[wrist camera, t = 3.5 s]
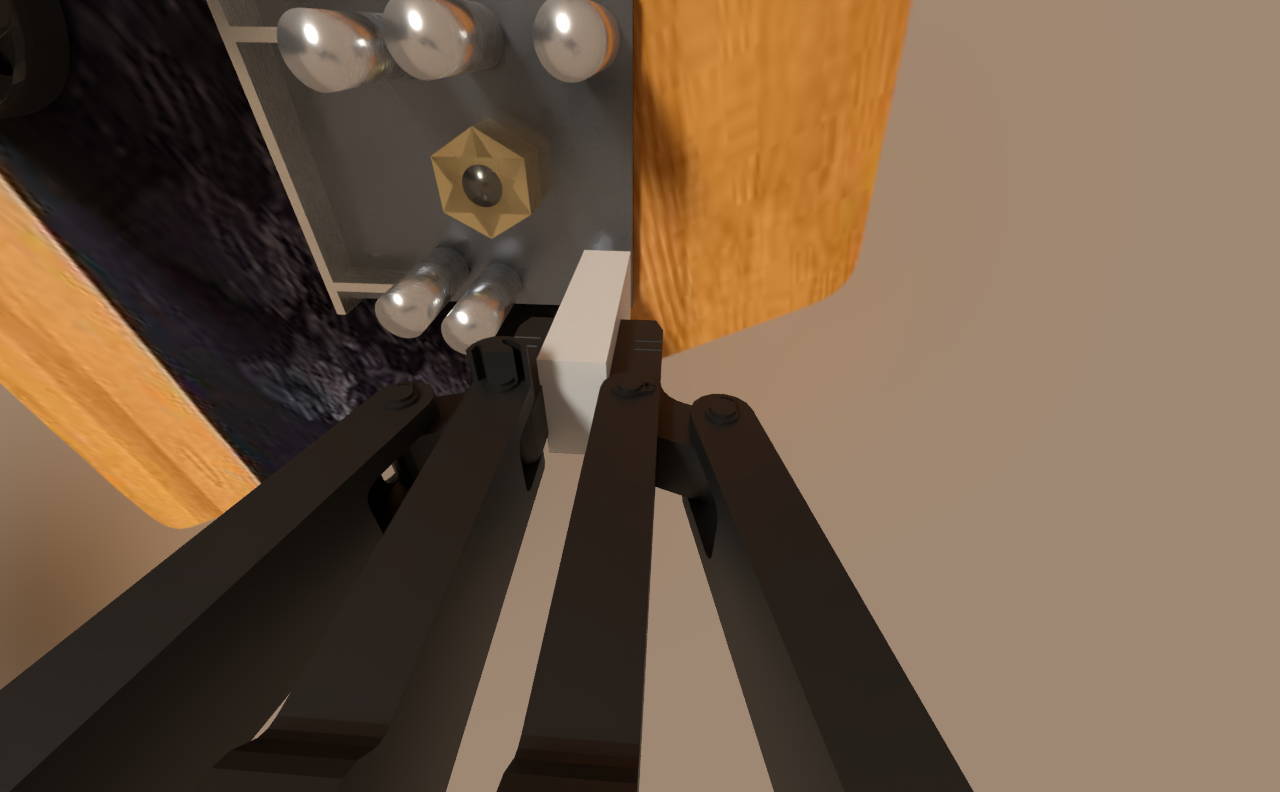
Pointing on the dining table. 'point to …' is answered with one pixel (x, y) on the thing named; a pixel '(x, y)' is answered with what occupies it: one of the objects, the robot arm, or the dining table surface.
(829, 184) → the dining table surface
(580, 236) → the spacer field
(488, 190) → the nut
